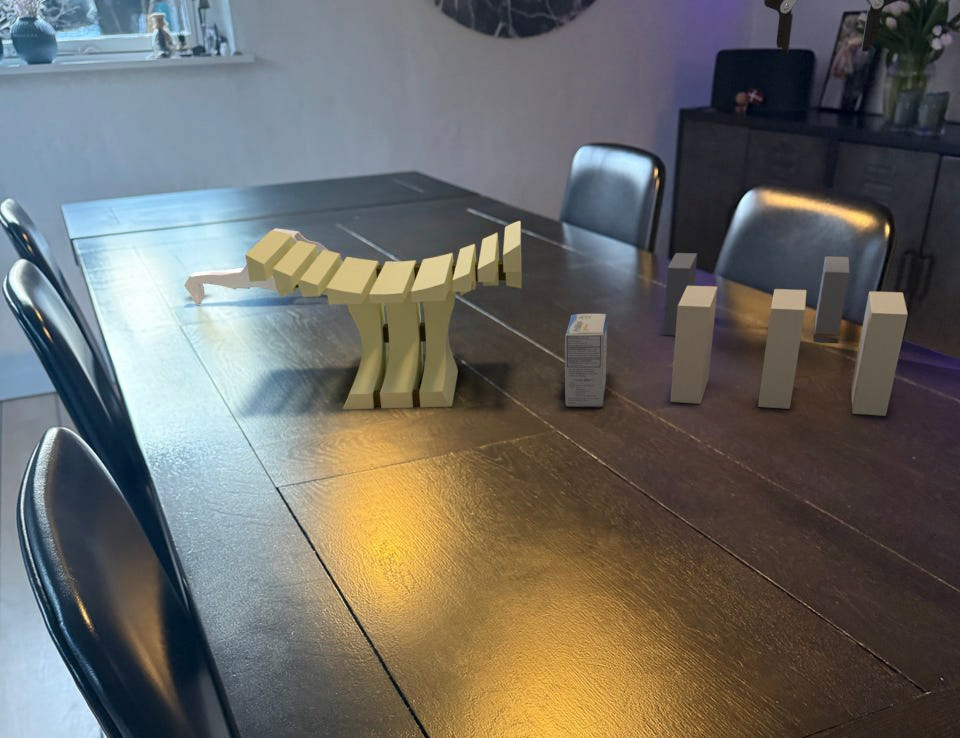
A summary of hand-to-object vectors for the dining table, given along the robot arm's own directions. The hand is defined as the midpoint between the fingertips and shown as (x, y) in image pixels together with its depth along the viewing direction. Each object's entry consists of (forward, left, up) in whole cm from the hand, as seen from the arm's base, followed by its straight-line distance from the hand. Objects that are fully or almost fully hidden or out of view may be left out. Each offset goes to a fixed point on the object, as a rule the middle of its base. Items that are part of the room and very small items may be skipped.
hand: (824, 52), depth 104 cm
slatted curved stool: (+40, -31, -33) cm, 61 cm away
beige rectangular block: (+17, +8, -33) cm, 38 cm away
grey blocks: (-4, -7, -33) cm, 34 cm away
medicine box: (+30, -10, -33) cm, 46 cm away
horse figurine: (+25, -78, -33) cm, 88 cm away
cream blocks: (+17, +8, -33) cm, 38 cm away
